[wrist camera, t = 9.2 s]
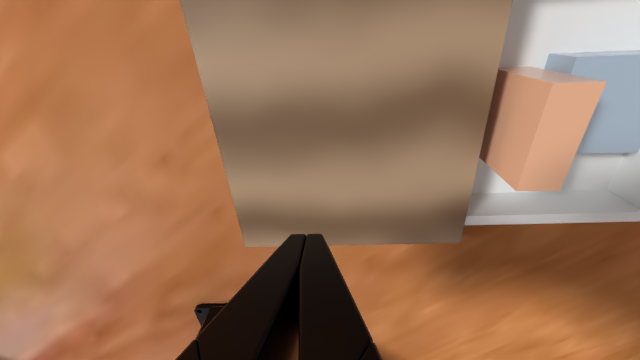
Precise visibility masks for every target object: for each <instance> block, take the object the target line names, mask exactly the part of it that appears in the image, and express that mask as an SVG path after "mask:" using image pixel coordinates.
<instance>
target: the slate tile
mask: <svg viewBox="0 0 640 360" xmlns="http://www.w3.org/2000/svg"><path fill="white" fill-rule="evenodd" d="M544 69H546V70H551V71H556V72H561V73H566V74H571V75H576V76H581V77H586V78H591V79H596V80H601V81H606V85H605V87H604V89H603V92H602V94H601V96H600V99H599V101H598V103H597V106H596V108H595V110H594V113H593V115H592V117H591V119H590V122H589V124H588V126H587V129H586V131H585V133H584V136H583V138H582V140H581V143H580V145H579V147H578V150H577V152H576V153H633V152H638V151H639V149H640V50H625V51H600V52H575V53H551V54H549V55H548V58H547V61H546V65H545V68H544Z"/></svg>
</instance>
